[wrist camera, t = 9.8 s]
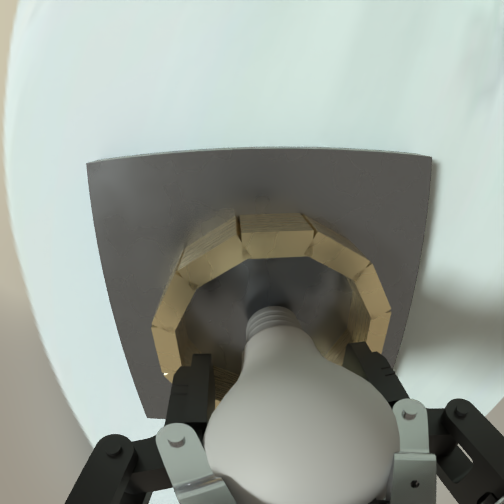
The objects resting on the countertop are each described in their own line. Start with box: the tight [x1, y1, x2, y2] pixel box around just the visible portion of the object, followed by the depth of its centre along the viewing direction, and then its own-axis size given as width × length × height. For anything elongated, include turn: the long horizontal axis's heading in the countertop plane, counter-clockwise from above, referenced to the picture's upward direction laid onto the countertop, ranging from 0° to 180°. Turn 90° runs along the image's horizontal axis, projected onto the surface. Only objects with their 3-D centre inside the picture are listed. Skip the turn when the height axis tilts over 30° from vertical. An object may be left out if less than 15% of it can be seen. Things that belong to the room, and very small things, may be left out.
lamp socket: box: [86, 147, 432, 419], centre depth 15 cm, size 16×16×4 cm
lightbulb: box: [202, 306, 400, 504], centre depth 10 cm, size 6×6×11 cm
